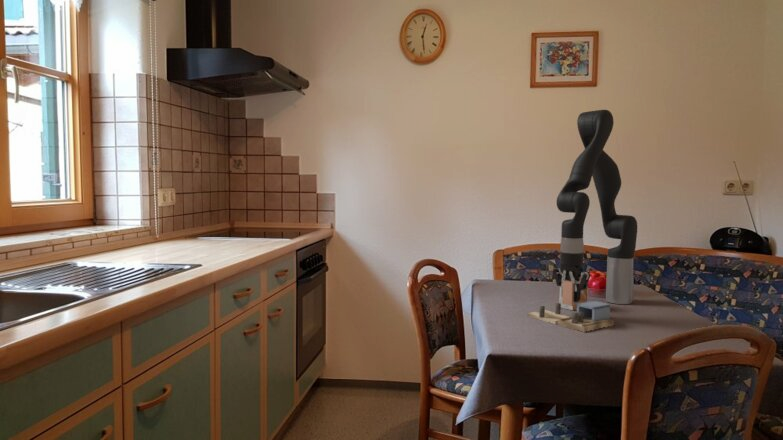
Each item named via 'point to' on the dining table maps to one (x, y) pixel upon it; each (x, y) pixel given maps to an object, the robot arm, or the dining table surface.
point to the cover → (594, 310)
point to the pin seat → (548, 314)
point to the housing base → (583, 322)
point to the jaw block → (568, 293)
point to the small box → (582, 299)
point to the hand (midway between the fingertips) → (570, 300)
